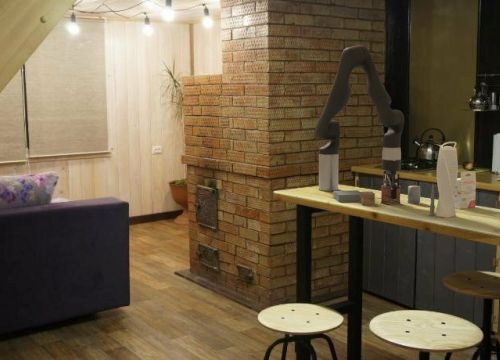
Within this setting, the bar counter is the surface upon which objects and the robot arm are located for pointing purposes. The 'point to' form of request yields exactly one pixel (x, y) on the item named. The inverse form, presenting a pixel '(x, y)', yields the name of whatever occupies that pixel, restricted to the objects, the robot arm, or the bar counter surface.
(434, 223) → the bar counter surface
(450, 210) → the skyscraper
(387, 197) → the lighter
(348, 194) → the block
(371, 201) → the walnut block
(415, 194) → the grey upright block
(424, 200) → the bar counter surface
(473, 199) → the ink cartridge box
